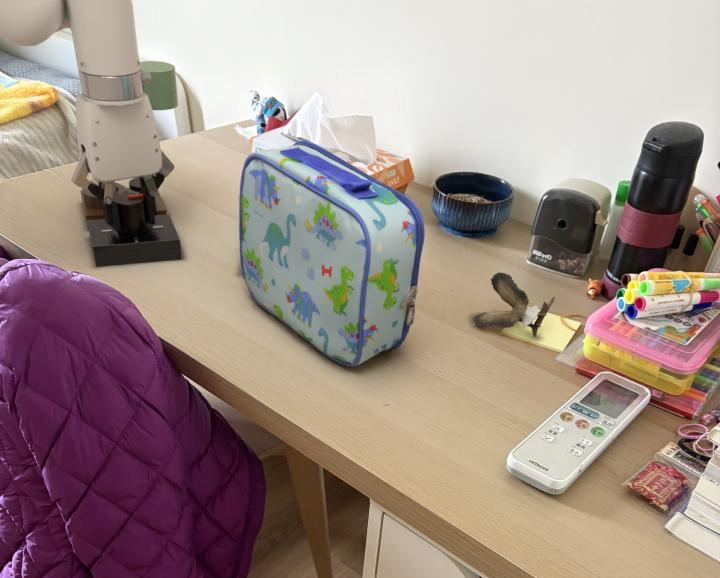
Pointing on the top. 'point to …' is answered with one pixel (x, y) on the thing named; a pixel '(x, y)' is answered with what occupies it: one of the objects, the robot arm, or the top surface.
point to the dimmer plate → (134, 243)
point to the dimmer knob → (131, 213)
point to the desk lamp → (158, 94)
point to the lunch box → (329, 250)
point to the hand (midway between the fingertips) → (131, 223)
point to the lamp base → (95, 205)
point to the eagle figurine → (513, 306)
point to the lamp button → (113, 188)
